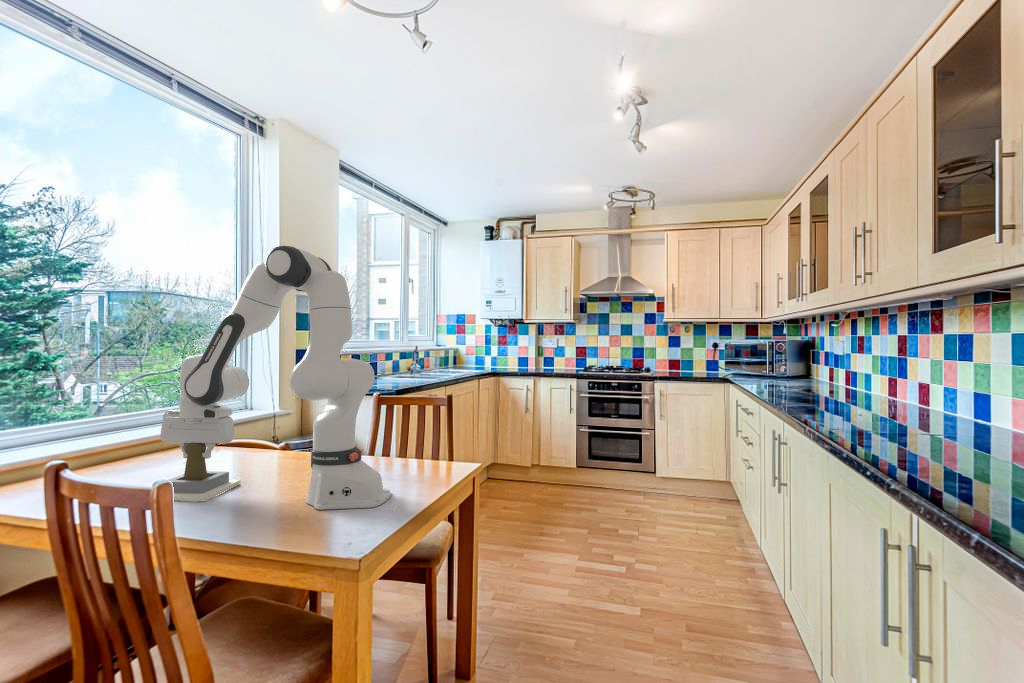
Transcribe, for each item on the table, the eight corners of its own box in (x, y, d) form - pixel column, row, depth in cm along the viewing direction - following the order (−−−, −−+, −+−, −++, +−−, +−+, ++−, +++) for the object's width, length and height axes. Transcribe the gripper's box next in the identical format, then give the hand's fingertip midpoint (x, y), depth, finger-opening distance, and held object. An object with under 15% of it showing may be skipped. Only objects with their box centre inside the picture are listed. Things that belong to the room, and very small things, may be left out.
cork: (195, 483, 137) (195, 444, 137) (177, 482, 138) (178, 443, 138) (212, 478, 143) (213, 440, 143) (195, 476, 144) (196, 439, 144)
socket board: (240, 484, 149) (240, 470, 149) (204, 501, 133) (204, 485, 133) (190, 483, 150) (190, 469, 150) (148, 500, 134) (148, 483, 134)
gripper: (154, 411, 139) (154, 459, 139) (223, 412, 138) (223, 461, 137) (171, 408, 145) (171, 454, 145) (237, 409, 144) (237, 456, 144)
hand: (197, 458), depth 141 cm, fingers closed on cork, 4 cm apart
